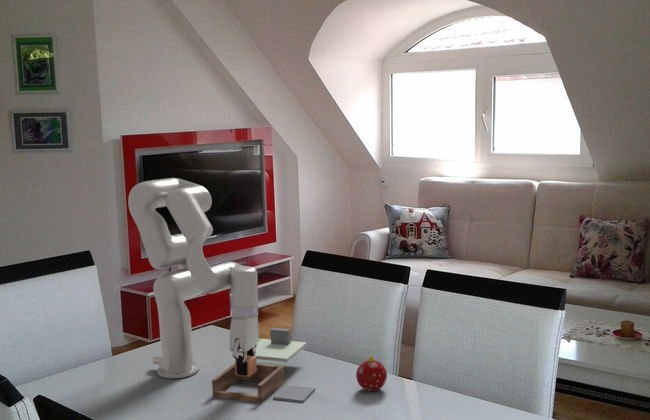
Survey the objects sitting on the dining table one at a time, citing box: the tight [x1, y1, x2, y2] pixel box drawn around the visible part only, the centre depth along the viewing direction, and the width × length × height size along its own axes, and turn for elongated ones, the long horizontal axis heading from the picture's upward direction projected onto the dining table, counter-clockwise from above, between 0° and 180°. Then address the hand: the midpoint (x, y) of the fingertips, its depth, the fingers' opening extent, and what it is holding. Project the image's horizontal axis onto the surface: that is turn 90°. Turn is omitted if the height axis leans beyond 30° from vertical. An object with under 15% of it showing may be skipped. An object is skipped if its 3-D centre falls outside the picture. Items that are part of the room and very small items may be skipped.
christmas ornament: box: [355, 355, 388, 392], centre depth 202 cm, size 9×9×10 cm
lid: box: [240, 327, 308, 363], centre depth 221 cm, size 15×15×6 cm
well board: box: [211, 362, 286, 404], centre depth 205 cm, size 15×15×5 cm
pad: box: [272, 384, 316, 403], centre depth 201 cm, size 9×9×1 cm
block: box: [234, 354, 257, 377], centre depth 205 cm, size 4×4×4 cm
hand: (246, 370), depth 205 cm, fingers closed on block, 4 cm apart
